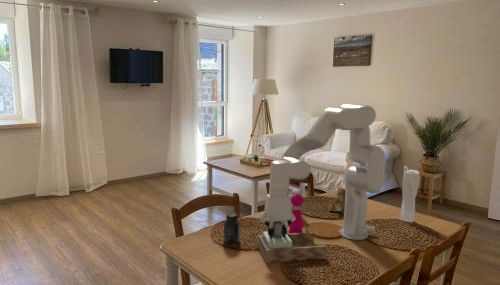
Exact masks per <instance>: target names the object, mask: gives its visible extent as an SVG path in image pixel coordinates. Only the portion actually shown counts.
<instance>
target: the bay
mask: <svg viewBox="0 0 500 285" xmlns="http://www.w3.org/2000/svg"><path fill="white" fill-rule="evenodd" d="M287 235H288V237H289V238H290V239H291V241H292V248H278V249H268V247H267V245H266V244H265V242H264V240H263V234H260V235H259V234H258V239H257V248H258V247H259V248H258V249H259V252H260V253H261V255H262V257H263V259H264V261H265V263H266V264H268V263H270V264H271V263H282V262H283V261H284V262H294V261H293V260H298V261H307V260H306V259H311V260H321V259H324V260H325V259H326V258H327V245H317V244H316V243H315V242H314V241H315V232H310V231H309V232H303V233H290V234H289V233H287Z"/></svg>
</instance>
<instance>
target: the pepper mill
mask: <svg viewBox="0 0 500 285" xmlns="http://www.w3.org/2000/svg"><path fill="white" fill-rule="evenodd" d="M293 194H294V195H292V197H291V203H292V205H291V208H292V214H293V215H294V216H295V218H296V219H295V220H294V221H293V222H292V223H291V224H290V225H289V226H288V228H289V229H288V234H290V233H304V232H303V228H304V227H305V221H304V219H303V216H302V214H301V209H302V210H303V204H304V203H305V199H304V195H302V194H300V191H299V190H296V191H295V193H293Z"/></svg>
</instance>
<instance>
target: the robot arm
mask: <svg viewBox="0 0 500 285" xmlns="http://www.w3.org/2000/svg"><path fill="white" fill-rule="evenodd" d="M376 118H377V113H376V110H375V109H374V107H372V106H370V105H366V104H357V103H343V104H342V105H340V106H339V107H333V106H332V107H327V108H325V109H324V110H323V111H322V113H321V114H320V116H318V118H317V119H316V121H315V123H314V124H312V125H313V126H311V128H310V130H309V131H308V132H307V134H305V135H304V136H301V137H300V138H298V139H297V140H296V141H294V142H293V143H291V145H289V147H288V148H287V149H286V150H285V151H284V153H283V154H282V156H281V158H280V159H276V160H272V161H271V162H270V166H269V168H270V170H269V192H268V194H266V198H265V205H264V212H263V214H262V215H261V216H260V218H259V221H260V222H261V223H263V224H264V225H265V226H267V232H268V235H269V236H270V238H273V222H274V221H281V222H282V236H283V237H286V234H288V228H289V225H290V224H291V223H292V222H293V221H294V220H295V219H296V218H295V216H294V215H293V214H292V210H291V198H290V195H289V194H291V193H293V188H290V180H304V179H306V178H308V177H309V175H310V174H311V166H310V164H309V163H308V162H306V161H305V160H302V159H300V158H302V156H303V155H305V154H307V153H309V152H311V151H315V150H320V149H322V148H324V147H325V146H326V145H327V143H328V142H329V140H330V139H331V138H332V136H333V135H334V133H335V132H336V131H337V130H340V131H349V153H348V154H349V160H350V161H351V162H352V163H353V164H356V165H352V166H349V167H348V168H347V169H346V170H345V173H344V184H345V186H344V187H345V189H346V197H345V210H344V215H343V223H342V224H343V225H342V226H343V227H342V228H340V229H339V231H338V232H340V233H339V235H340V234H341V235H340V236H341V237H343V238H346V239H348V240H353V241H362V240H366V239H368V237H369V232H373V231H374V232H375V231H376V227H375V226H370V225H369V224H366V221H367V208H368V206H367V205H368V194H367V193H369V194H377V193H378V194H379V192H380V191H382V189H383V187H384V181H385V170H386V154H385V152H384V150H383V148H381V147H380V146H378V145H373V144H371V129H370V126H371V125H373V123H375V120H376ZM358 165H360V166H358Z"/></svg>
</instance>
